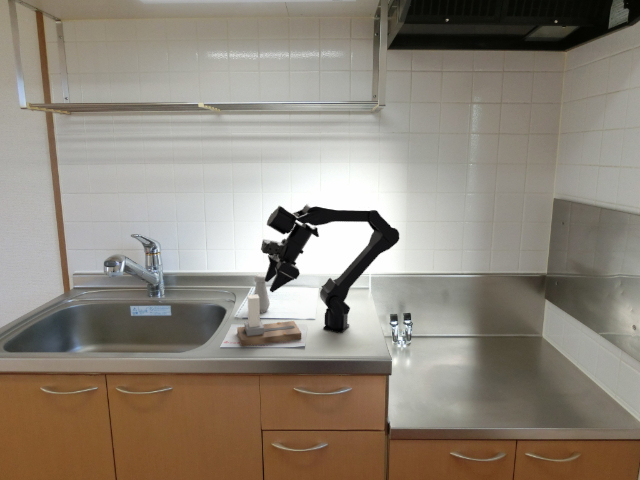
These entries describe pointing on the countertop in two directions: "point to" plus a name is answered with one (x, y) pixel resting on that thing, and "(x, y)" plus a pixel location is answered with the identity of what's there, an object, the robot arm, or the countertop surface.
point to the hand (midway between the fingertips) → (268, 286)
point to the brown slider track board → (271, 334)
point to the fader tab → (253, 317)
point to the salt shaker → (262, 292)
